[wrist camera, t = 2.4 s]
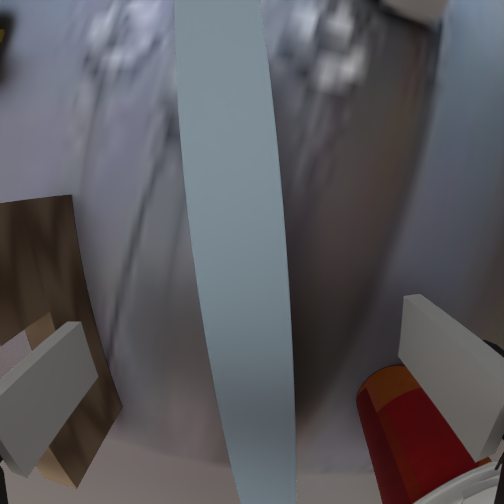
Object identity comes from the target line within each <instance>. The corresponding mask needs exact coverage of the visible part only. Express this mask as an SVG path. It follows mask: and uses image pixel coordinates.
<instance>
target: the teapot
mask: <svg viewBox="0 0 504 504" xmlns="http://www.w3.org/2000/svg"><path fill="white" fill-rule="evenodd" d="M4 34H5V31H4V29H0V43H1V42H2V40H3V37H4Z"/></svg>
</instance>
